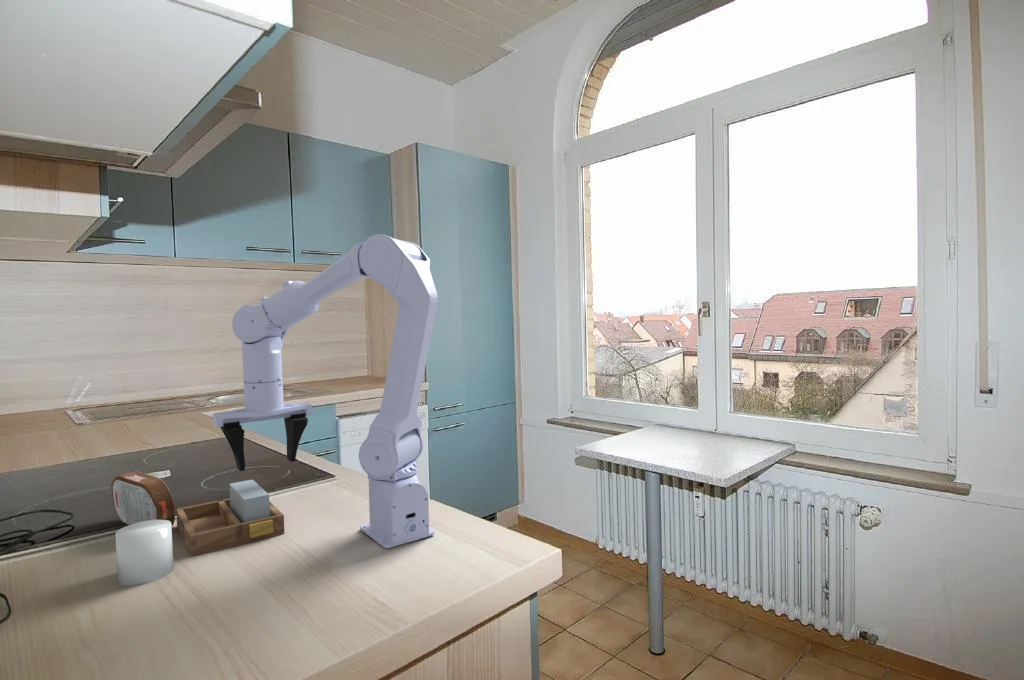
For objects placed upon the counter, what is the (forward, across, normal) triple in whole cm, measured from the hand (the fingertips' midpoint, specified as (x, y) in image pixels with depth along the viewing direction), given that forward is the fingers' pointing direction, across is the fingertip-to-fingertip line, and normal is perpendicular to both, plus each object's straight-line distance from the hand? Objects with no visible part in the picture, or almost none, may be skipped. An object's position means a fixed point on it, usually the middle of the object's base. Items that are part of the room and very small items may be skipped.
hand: (266, 464), depth 90 cm
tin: (+9, +16, -10) cm, 21 cm away
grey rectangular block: (+8, +3, +1) cm, 9 cm away
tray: (+9, +6, 0) cm, 11 cm away
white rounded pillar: (+9, +18, +9) cm, 22 cm away
